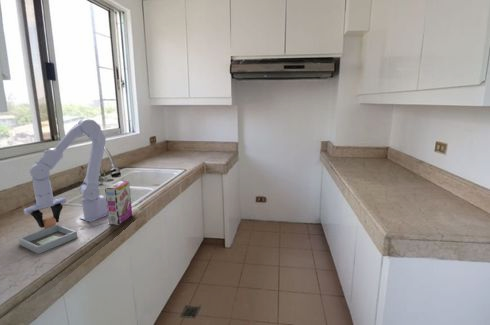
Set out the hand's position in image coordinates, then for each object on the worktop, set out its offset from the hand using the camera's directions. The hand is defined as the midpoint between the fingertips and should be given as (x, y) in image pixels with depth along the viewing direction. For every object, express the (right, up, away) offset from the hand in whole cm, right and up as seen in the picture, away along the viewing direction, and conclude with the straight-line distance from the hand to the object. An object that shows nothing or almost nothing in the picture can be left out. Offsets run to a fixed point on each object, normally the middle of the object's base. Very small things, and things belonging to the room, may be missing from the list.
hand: (49, 224), depth 111 cm
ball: (0, -2, 0) cm, 2 cm away
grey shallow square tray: (+8, -4, -10) cm, 14 cm away
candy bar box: (+27, 0, +7) cm, 28 cm away
